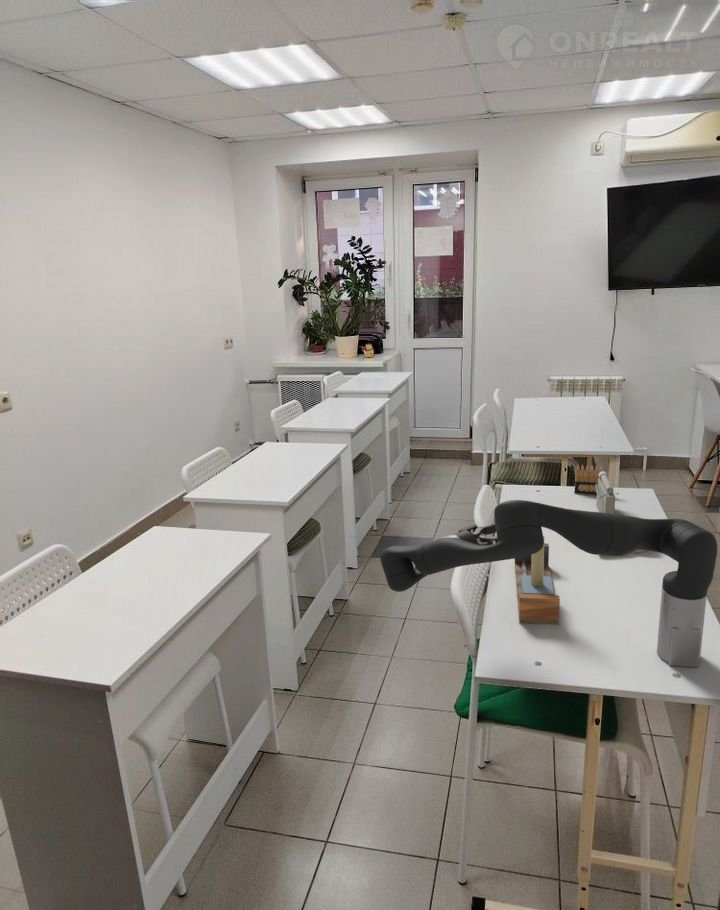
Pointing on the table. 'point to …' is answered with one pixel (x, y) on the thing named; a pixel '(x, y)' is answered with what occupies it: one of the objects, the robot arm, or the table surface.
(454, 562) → the robot arm
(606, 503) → the geiger counter
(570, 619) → the table surface
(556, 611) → the rail
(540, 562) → the carriage
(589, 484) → the ammunition clip
